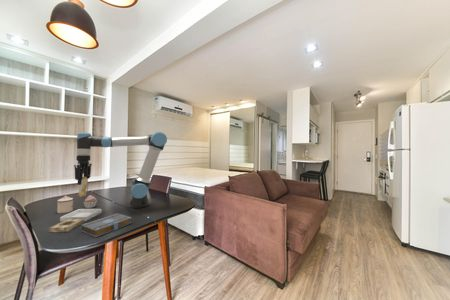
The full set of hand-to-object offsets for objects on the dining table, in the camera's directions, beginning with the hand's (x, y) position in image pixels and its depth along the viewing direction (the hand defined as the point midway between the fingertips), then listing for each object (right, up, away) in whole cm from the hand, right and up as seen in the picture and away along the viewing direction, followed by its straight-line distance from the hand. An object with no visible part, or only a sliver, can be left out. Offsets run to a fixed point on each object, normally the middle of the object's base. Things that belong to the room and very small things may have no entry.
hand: (82, 188), depth 120 cm
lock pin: (0, -5, 0) cm, 5 cm away
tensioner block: (+4, -20, -16) cm, 26 cm away
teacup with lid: (-23, -20, +11) cm, 32 cm away
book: (+27, -21, -15) cm, 37 cm away
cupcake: (-10, -20, +20) cm, 30 cm away
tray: (0, -20, 0) cm, 20 cm away
